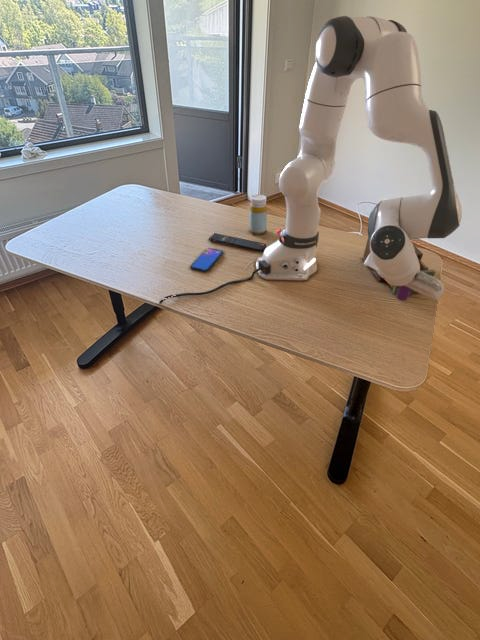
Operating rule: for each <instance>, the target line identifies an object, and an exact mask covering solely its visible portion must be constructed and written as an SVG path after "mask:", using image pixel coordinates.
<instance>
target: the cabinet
mask: <svg viewBox="0 0 480 640" xmlns="http://www.w3.org/2000/svg"><path fill="white" fill-rule="evenodd" d="M413 246H414V249H415V253H416V255H417V257H418V258H419V259H420V260H421V261H422V258H423V256H424V253H423V252H421V250H420V249H419V248H418V247H416V246H415V245H414V244H413ZM369 254H370V241H369V238H368V237H367V241H366V244H365V248H364V252H363V256H362V261H363V263H364V262H365V260H366V258H367V257H368V255H369ZM370 271H371V273H372V274H373V276H374V277H375V278H376V279H377V281H378V282H387V281H386V280H385V279H384V278H382V277H381V276H380V275H379V274H377V273H375V272H374V271H372V270H370Z"/></svg>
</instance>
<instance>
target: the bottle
mask: <svg viewBox="0 0 480 640" xmlns="http://www.w3.org/2000/svg"><path fill="white" fill-rule="evenodd" d="M267 216H268V208H267V196H266V195H264V194H252V195H251V197H250V207H249V232H251V234H253V235H257V236H259V235H263V234H265V233H266V232H267V219H268V218H267Z"/></svg>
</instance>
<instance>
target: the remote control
mask: <svg viewBox="0 0 480 640" xmlns="http://www.w3.org/2000/svg"><path fill="white" fill-rule="evenodd" d="M210 239H211V240H210ZM214 240H215V241H214ZM208 241H212V242H216V243H220V244H225V245H230V246H233V247H239V248H244V249H248V250H253V251H258V252H264V250H265V248H266V247H267V243H264V242H260V241H255V240H251V239H246V238H240V237H235V236H231V235H226V234H222V233H217V232H214V233H213V234H212V235H211V236H210V237H209V238H208Z"/></svg>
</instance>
